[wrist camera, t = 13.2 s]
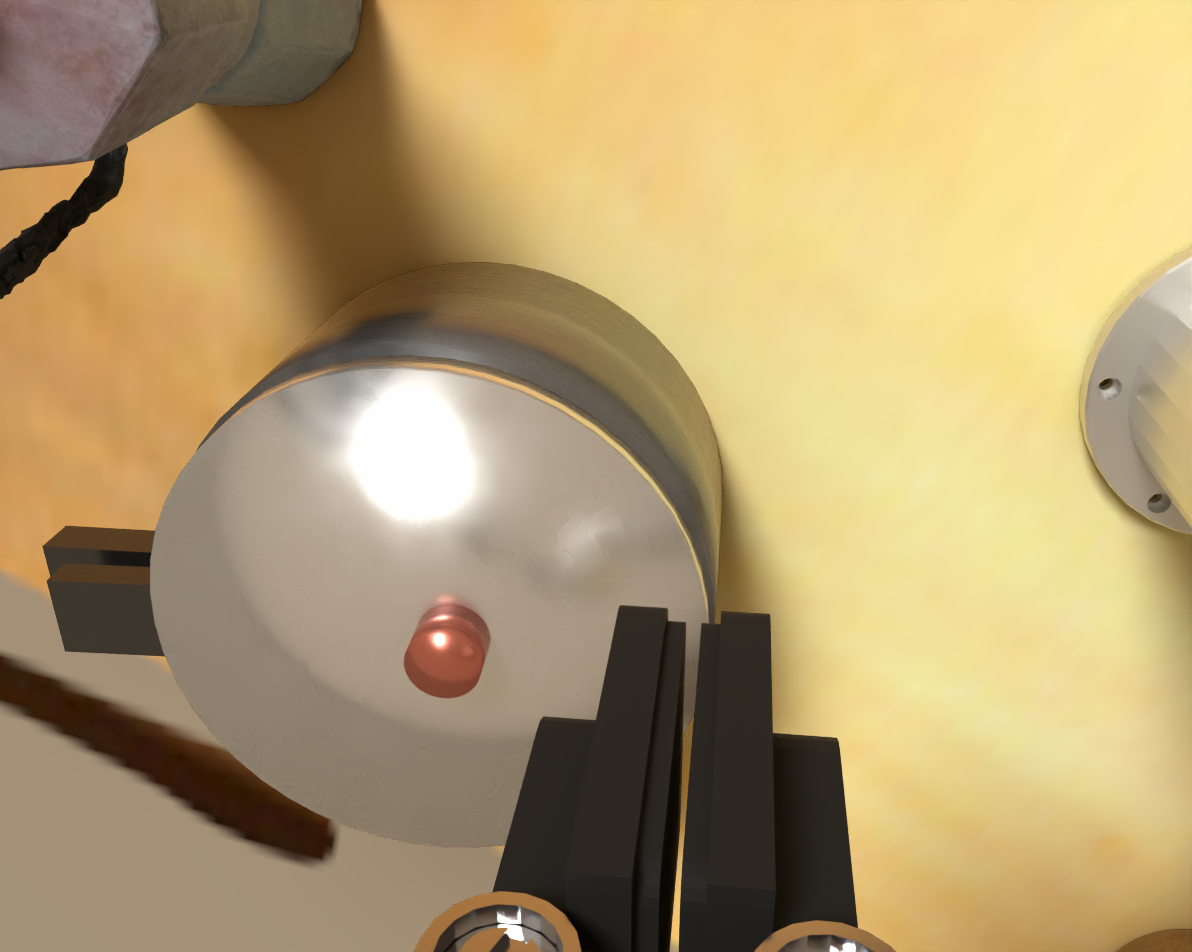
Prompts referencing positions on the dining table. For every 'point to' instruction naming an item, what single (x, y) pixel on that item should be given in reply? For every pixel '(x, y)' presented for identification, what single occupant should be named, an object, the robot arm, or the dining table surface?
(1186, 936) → the plant pot
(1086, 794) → the dining table surface
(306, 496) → the cooker lid
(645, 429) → the cooker pot
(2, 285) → the moka pot
